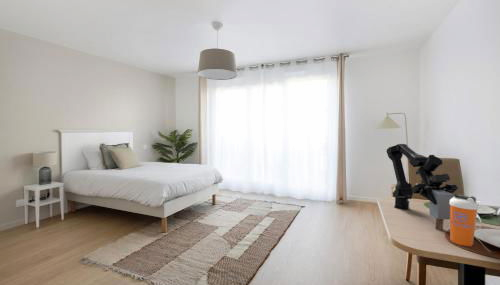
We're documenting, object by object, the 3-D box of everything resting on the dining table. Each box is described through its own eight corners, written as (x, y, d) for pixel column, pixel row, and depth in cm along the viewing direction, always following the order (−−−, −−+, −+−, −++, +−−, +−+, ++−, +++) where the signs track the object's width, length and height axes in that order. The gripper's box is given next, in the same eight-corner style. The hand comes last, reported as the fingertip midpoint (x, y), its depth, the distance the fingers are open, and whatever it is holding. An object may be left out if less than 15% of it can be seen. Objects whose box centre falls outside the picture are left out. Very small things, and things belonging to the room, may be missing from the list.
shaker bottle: (448, 235, 104) (451, 191, 103) (476, 242, 98) (479, 196, 97) (446, 242, 98) (448, 195, 97) (475, 250, 92) (478, 200, 91)
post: (435, 228, 112) (436, 218, 111) (436, 227, 113) (437, 217, 113) (442, 230, 110) (442, 220, 109) (443, 229, 111) (443, 219, 111)
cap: (429, 214, 114) (430, 190, 114) (441, 215, 114) (442, 190, 113) (437, 219, 109) (439, 193, 108) (450, 219, 108) (452, 193, 108)
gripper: (416, 167, 115) (431, 195, 104) (456, 168, 113) (475, 196, 103) (406, 179, 123) (418, 206, 112) (443, 180, 122) (459, 208, 111)
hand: (442, 204), depth 109 cm, fingers closed on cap, 6 cm apart
